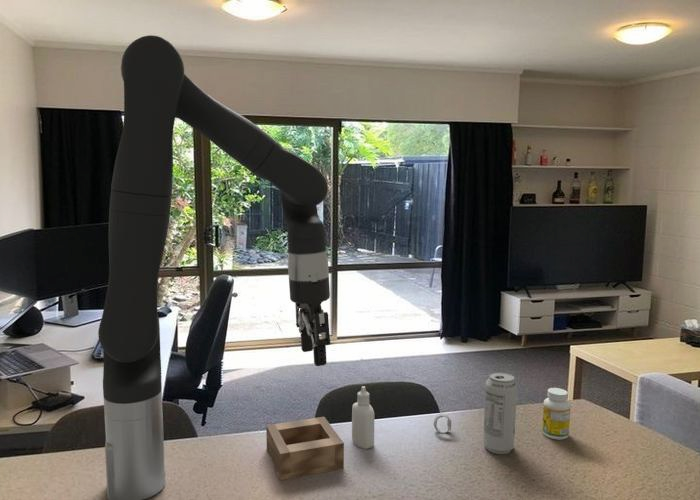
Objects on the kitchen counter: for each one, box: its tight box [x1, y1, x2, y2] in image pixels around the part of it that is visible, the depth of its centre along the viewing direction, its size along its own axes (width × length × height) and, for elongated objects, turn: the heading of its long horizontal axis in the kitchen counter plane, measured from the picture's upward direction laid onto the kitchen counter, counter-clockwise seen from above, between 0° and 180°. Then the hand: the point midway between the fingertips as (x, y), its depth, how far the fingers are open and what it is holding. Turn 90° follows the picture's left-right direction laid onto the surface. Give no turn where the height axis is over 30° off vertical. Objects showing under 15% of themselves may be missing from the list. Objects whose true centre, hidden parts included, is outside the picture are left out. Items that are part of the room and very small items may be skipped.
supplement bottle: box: [541, 387, 571, 441], centre depth 117 cm, size 5×5×10 cm
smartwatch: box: [433, 413, 452, 434], centre depth 118 cm, size 4×2×4 cm, turn 87°
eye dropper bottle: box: [351, 385, 375, 450], centre depth 113 cm, size 4×6×12 cm
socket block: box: [265, 416, 345, 481], centre depth 107 cm, size 12×12×5 cm
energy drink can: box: [482, 371, 518, 455], centre depth 111 cm, size 6×6×15 cm
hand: (313, 357), depth 107 cm, fingers open, 8 cm apart
